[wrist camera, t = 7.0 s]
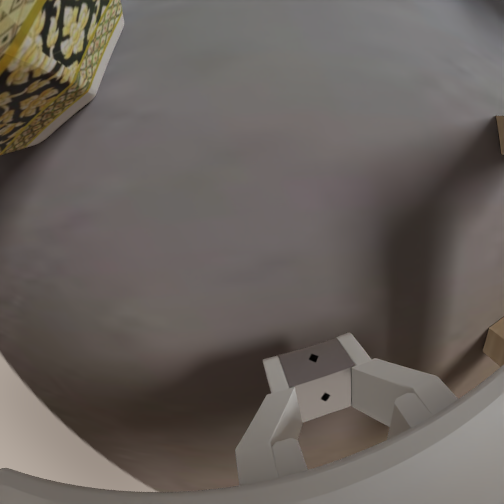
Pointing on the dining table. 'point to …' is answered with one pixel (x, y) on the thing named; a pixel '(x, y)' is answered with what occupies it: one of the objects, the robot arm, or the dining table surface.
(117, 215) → the dining table surface
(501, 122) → the bridge
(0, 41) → the ceramic cup
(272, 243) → the dining table surface
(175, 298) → the dining table surface
